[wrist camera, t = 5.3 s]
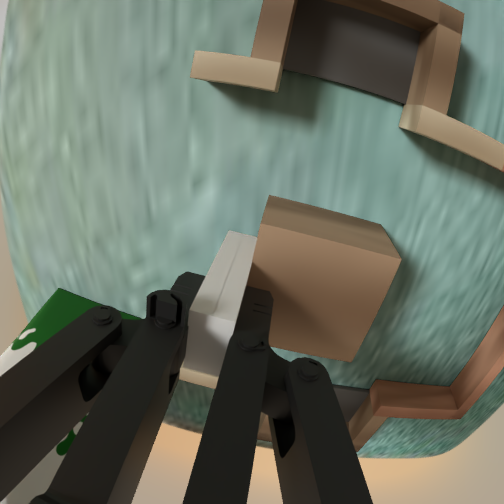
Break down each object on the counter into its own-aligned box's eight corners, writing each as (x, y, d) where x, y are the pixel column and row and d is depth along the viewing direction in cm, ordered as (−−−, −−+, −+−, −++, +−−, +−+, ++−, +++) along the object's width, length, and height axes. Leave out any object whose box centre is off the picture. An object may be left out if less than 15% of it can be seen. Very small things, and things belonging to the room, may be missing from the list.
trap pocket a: (278, -27, 11) (275, -48, 9) (442, 23, 11) (464, 13, 9) (257, 64, 13) (250, 57, 11) (425, 112, 13) (446, 115, 11)
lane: (210, 57, 13) (195, 50, 11) (564, 188, 13) (587, 201, 11) (173, 349, 22) (161, 374, 19) (452, 396, 21) (460, 419, 19)
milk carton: (48, 273, 21) (-122, 470, 3) (156, 312, 20) (9, 599, 3) (63, 354, 25) (-46, 524, 7) (153, 390, 24) (66, 600, 7)
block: (269, 194, 16) (260, 223, 13) (380, 224, 16) (401, 259, 12) (246, 293, 19) (234, 337, 15) (343, 315, 19) (351, 362, 15)
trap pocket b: (275, 374, 22) (272, 401, 19) (383, 391, 21) (388, 416, 19) (259, 414, 24) (255, 439, 22) (355, 428, 24) (357, 451, 21)
